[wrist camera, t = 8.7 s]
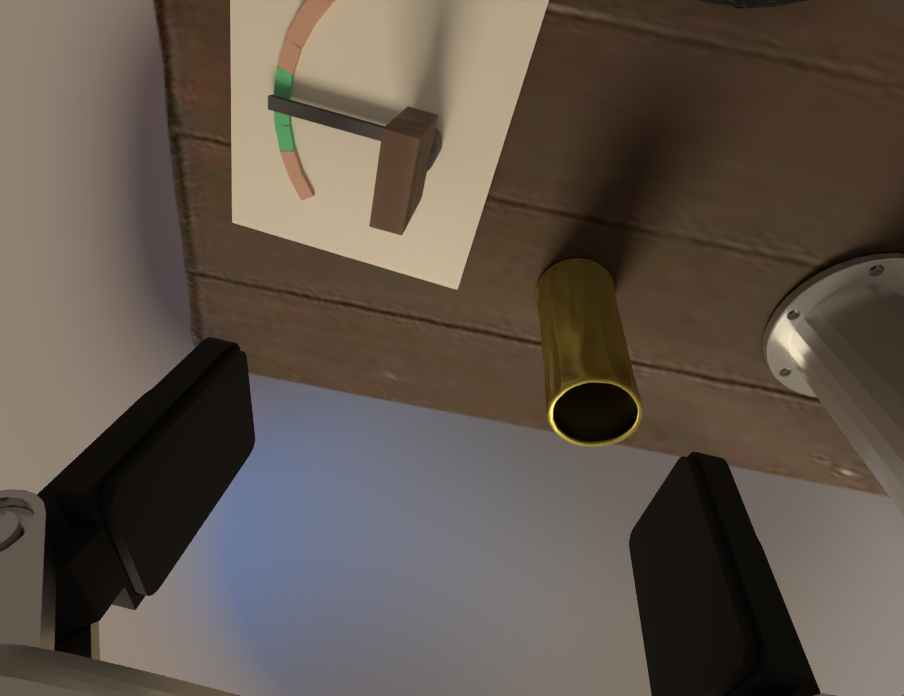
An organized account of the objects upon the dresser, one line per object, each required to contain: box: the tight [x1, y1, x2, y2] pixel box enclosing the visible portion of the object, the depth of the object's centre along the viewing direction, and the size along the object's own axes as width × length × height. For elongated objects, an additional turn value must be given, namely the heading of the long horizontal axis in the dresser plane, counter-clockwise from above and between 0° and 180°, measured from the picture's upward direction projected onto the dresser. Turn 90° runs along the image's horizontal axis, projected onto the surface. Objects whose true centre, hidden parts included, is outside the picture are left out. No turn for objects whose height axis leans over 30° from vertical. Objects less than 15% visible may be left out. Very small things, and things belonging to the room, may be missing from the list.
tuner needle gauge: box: [268, 95, 442, 235], centre depth 28 cm, size 11×5×9 cm, turn 77°
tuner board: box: [230, 0, 549, 290], centre depth 32 cm, size 18×20×2 cm
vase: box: [535, 258, 643, 447], centre depth 33 cm, size 6×6×14 cm
